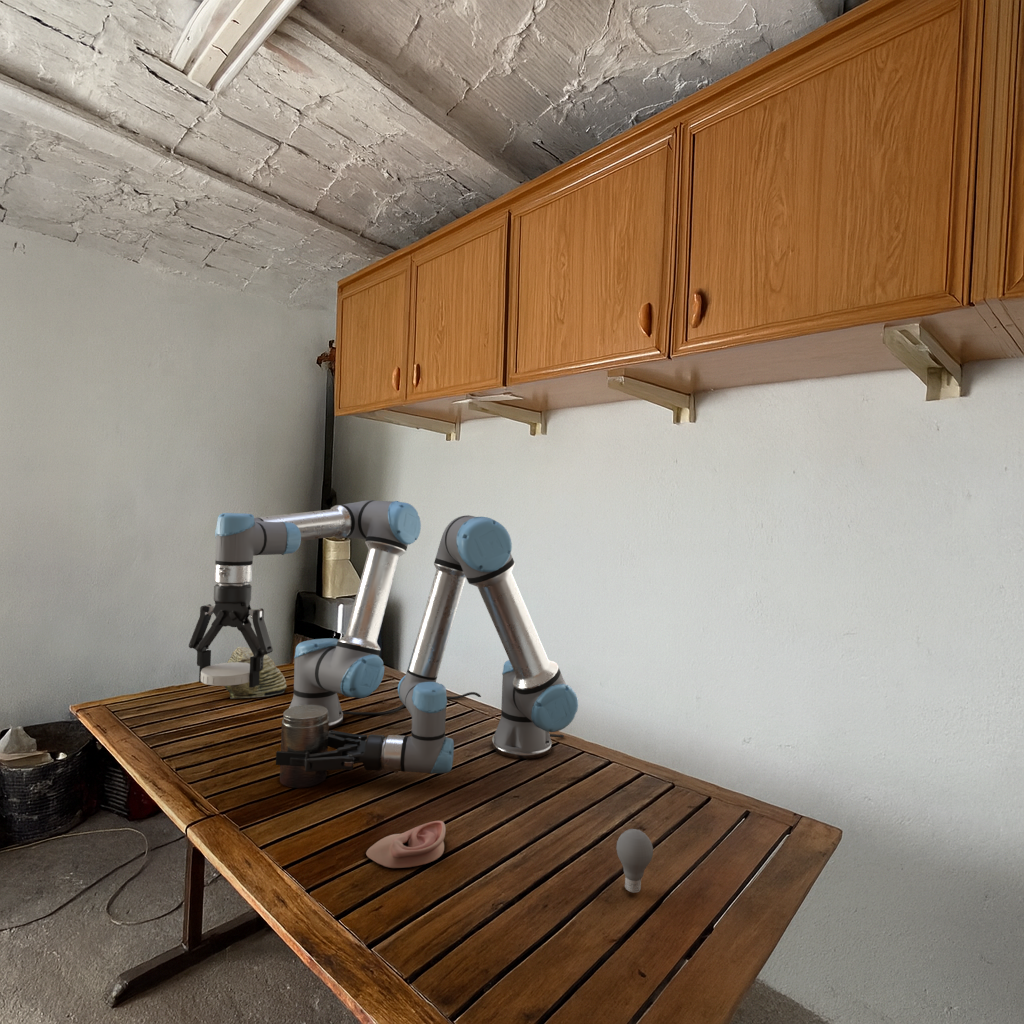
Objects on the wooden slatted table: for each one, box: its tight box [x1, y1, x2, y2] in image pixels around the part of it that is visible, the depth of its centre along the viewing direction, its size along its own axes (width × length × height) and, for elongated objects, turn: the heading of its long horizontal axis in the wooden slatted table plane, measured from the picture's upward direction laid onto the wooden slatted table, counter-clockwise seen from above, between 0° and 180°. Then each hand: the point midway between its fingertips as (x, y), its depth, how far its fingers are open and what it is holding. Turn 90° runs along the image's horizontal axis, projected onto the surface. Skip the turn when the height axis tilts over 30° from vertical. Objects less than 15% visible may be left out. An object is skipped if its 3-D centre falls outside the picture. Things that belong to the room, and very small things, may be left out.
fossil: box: [223, 646, 288, 699], centre depth 198 cm, size 9×18×15 cm, turn 132°
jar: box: [279, 705, 330, 789], centre depth 142 cm, size 10×10×15 cm
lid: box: [200, 662, 250, 687], centre depth 139 cm, size 11×11×2 cm
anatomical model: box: [365, 820, 447, 869], centre depth 114 cm, size 13×4×12 cm
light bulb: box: [615, 828, 654, 894], centre depth 106 cm, size 6×6×10 cm
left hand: (229, 683), depth 139 cm, fingers closed on lid, 11 cm apart
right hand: (285, 748), depth 142 cm, fingers closed on jar, 10 cm apart
